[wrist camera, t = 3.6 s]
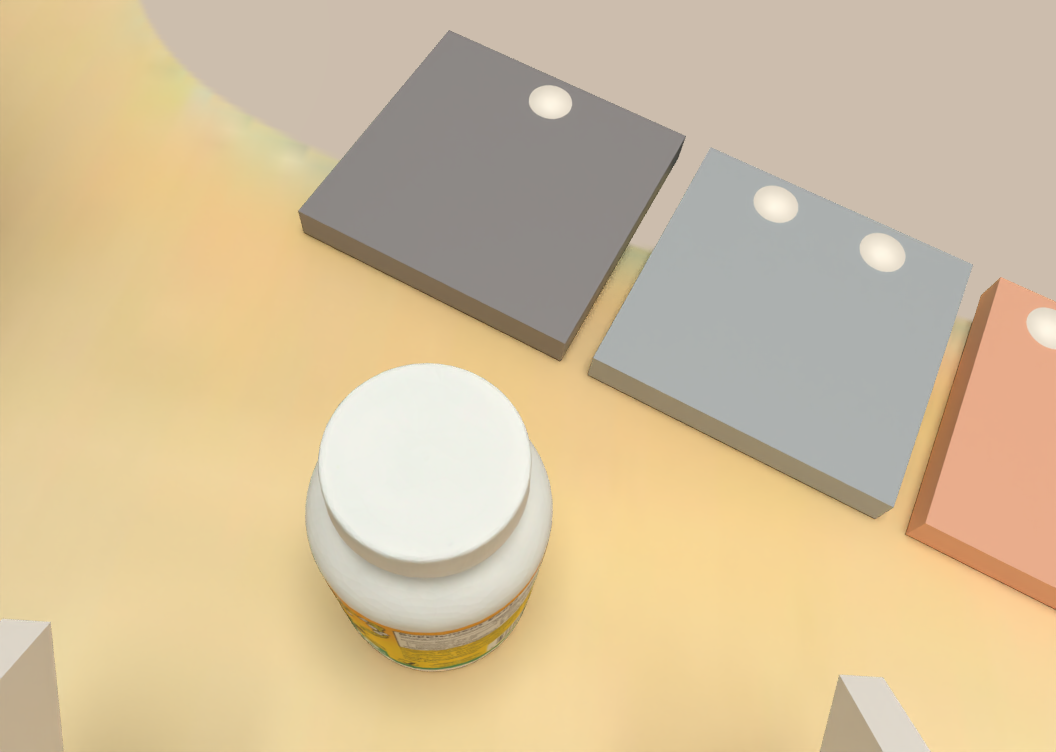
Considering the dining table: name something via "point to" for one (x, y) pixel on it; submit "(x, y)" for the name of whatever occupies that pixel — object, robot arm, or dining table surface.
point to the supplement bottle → (429, 514)
